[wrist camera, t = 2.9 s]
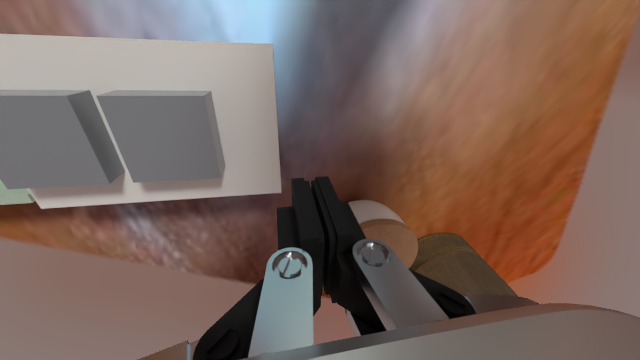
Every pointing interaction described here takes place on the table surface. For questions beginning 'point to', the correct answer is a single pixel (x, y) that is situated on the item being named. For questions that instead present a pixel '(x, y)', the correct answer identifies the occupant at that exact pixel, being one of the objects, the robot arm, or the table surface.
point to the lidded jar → (386, 228)
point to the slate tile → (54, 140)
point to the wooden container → (457, 266)
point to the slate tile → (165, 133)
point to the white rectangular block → (160, 74)
